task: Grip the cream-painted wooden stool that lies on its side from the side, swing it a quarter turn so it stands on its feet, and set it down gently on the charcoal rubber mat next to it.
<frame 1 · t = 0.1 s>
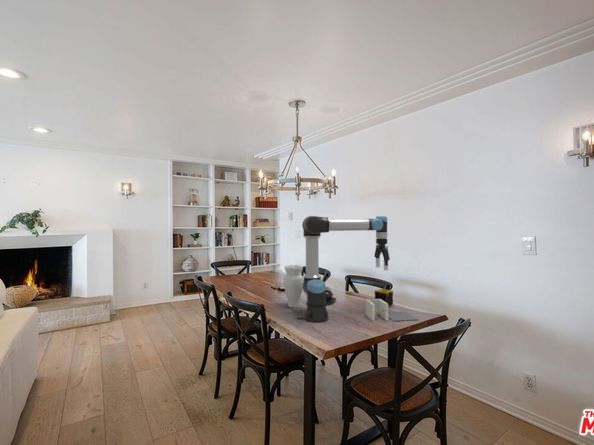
hand: (381, 268, 207), 28 cm above the table, tool pointing down, fingers open, 13 cm apart
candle: (383, 304, 219), on the table
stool: (373, 307, 195), point 5 cm above the table
vase: (293, 306, 216), on the table
mat: (399, 316, 190), on the table
casserole: (321, 303, 224), on the table
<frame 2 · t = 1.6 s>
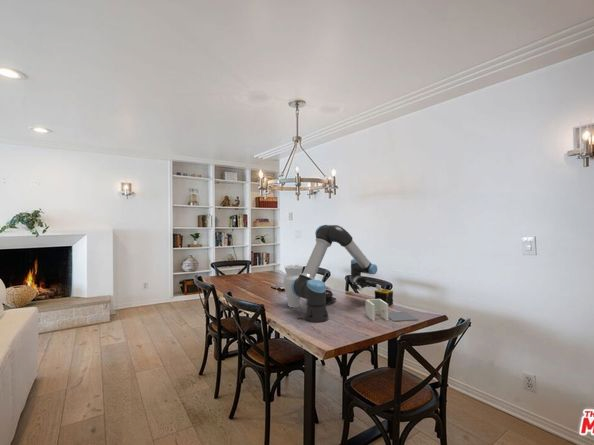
hand: (370, 288, 199), 16 cm above the table, tool horizontal, fingers open, 13 cm apart
nothing on the table moved.
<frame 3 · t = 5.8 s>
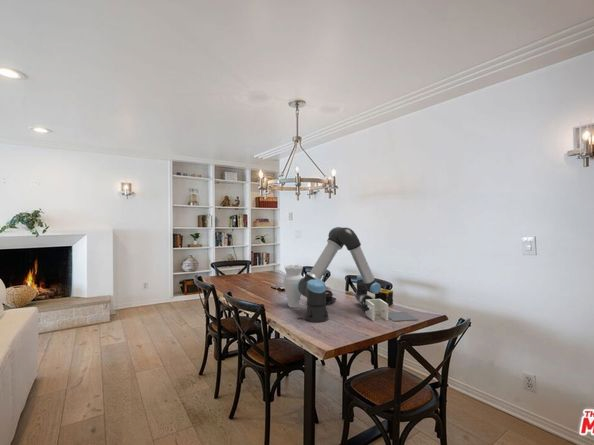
hand: (379, 310, 184), 6 cm above the table, tool horizontal, fingers closed on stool, 10 cm apart
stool: (373, 307, 195), point 5 cm above the table, touching gripper
everything else where it was.
when the fingers open (3 cm above the table, at t = 13.4 s): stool drops 1 cm, resting on mat.
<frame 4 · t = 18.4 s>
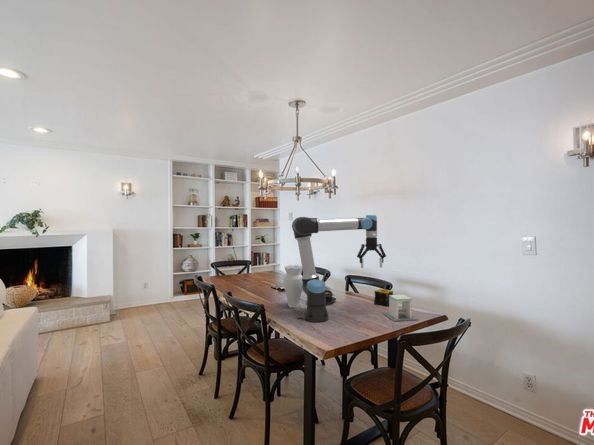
hand: (371, 267, 207), 29 cm above the table, tool pointing down, fingers open, 13 cm apart
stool: (400, 297, 189), point 12 cm above the table, tilted 90°, touching mat
everything else where it was.
at the end: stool tilted 90°; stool inside the target area on the mat (0.9 cm from its centre), point 12.3 cm above the mat's base; the gripper is holding nothing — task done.
